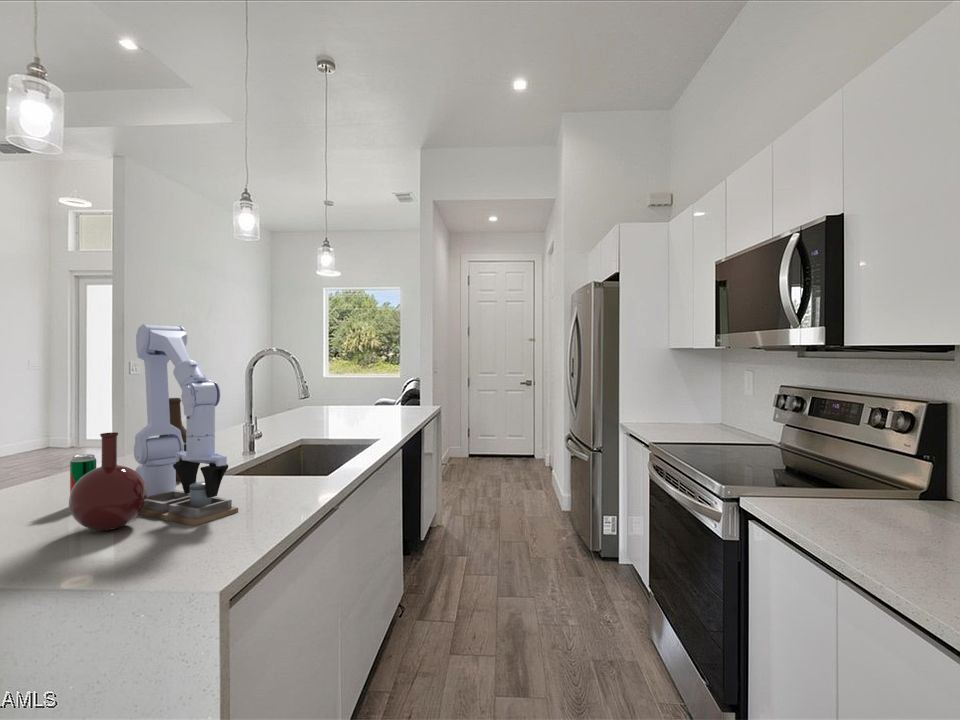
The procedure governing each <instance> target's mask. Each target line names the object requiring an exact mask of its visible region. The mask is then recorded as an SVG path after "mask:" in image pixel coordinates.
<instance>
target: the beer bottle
mask: <svg viewBox="0 0 960 720" xmlns="http://www.w3.org/2000/svg"><path fill="white" fill-rule="evenodd" d="M181 403H182V399H181V397H180V398H179V397H169V412H170V424H171V425H173V426H174V427H176V428H178V429H179V430H180V431H181V436H182V440H183V443H184V451H186V427H185V426H184V425H183V422H182V410H181ZM166 436H169V435H158V437H166ZM176 463H179V461H178V462H176ZM179 482H180V483H181V480H180V478H179V475H178V473H177V472H176V483H179Z"/></svg>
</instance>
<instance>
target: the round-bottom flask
mask: <svg viewBox="0 0 960 720" xmlns="http://www.w3.org/2000/svg"><path fill="white" fill-rule="evenodd" d="M99 436H100V438H101V465H100V467H99V466H98V467H96V469H94V470H91V471H90V472H88V473H86V474H85V475H84V476H82V477H81V478H80V479H79V480H78V481H77V482H76V484H75V485H74V487H73V489H72V491H71V493H70V492H69V498H68V508H69V512H70V514H71V516H72V518H73V519H74V520H75V522H76V523H78V524H79V525H81V526H82V527H84V528H86V529H89V530H92V531H101V532H103V531H112V530H115V529H118V528H121V527H123V526H125V525H127V524H129V523H130V522H131V521H133V520H134V519H135V518H136V517H137V516H138V515H140V514H139V512H140V511H141V510H142V508H143V506H144V504H145V501H146V496H147V489H146V485H145V482H144V480H143V479H142V477H141V476H140V475H139V474H138V473H137V472H136V471H135V469H133V468H130V467H128V466H124V465H118V463H117V462H118V436H119V432H103V433H100V434H99Z"/></svg>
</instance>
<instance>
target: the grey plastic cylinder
mask: <svg viewBox="0 0 960 720" xmlns="http://www.w3.org/2000/svg"><path fill="white" fill-rule="evenodd" d="M189 489H190V507H193V508H199V507H203V506H206V505H210V504H212V497H211V498H207V495H206V486H205V480H204V481H196V482H195V483H192V484H190V485H189Z"/></svg>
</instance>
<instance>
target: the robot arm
mask: <svg viewBox="0 0 960 720" xmlns="http://www.w3.org/2000/svg"><path fill="white" fill-rule="evenodd" d="M135 343H136V344H135V345H136V346H135V347H136V353H137V355H136V356H137V358H138V359H140V360H142V361H143V363H144V364H143V365H144V375H145V397H146V399H145V400H146V415H147V418H146V419H147V420H146V421H147V425H146V426H144V427H143V428H142V429H141V430H139V431H138V432H137V433H136V434H135V436H134V446H133V457H134V459H135V462H136V463H138V465H137V467H136V468H135V469H134V471H136V472H137V473H138V474H139V475H140V476H141V477H142V479H143V480H144V482H145V485H146V489H147V496H146V497H148V496H152V495H156V494H160V493H164V492H168V491H172V490H177V487H176V485H177V484H176V483H177V482H176V472H177V473H178V475H179V478H180V480H181V481H180V483H181V487H182V489H183V490H182V491H184V493H185V494H188V493H190V489H189V485H190V484H192V483H195V482H197V475H198V471H199V468H200V471H201V473H202V477H203V479H204V481H205V486H206V495H207V498H211V497H218V494H219V489H220V486H221V483H222V480H223V477H224V476H225V473H226V472H227V470H228V469H229V464H228V462H227V460H228V459H227V456H226V455H222V454H219V453H217V452H216V407H217V406H218V405H219V403H220V401H221V400H220V399H221V388H220V386H219V383H218V382H216V381H214V380H212V379H208V377H207V375H206V374H205V373H204V370H203V369H202V367H201V365H200V364H199V362H198V361H195V360H192V358H191V356H190V355H189V351H188V349H187V343H188V332H187V330H186V328H185V327H184V326H182V325H179V326H177V325H176V326H175V325H173V326H172V325H156V324H155V325H154V324H145V323H142V324H141V325H140V326H138V329H137V331H136V334H135ZM170 361H171V363H172V365H173V366H174V367H173V372H172V373H173V376H174V378H175V380H176V381H177V384H178V385H179V388H180V389H181V395H180V399H181V403H182V406H183V414H184V416H186V420H185V421H186V423H185V424H186V426H185V429H186V451H184V443H183V440H182V436H181V431H180V430H179V429H178V428H176V427H174V426H173V425H171V424H170V412H169V398H170V395H169V375H168V372H169V371H168V363H169V362H170ZM160 435H169V436H166V437H159V436H160ZM155 436H158V437H155ZM178 461H179V463H176V462H178ZM201 464H205V465H206V466H201V467H200V465H201Z"/></svg>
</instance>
